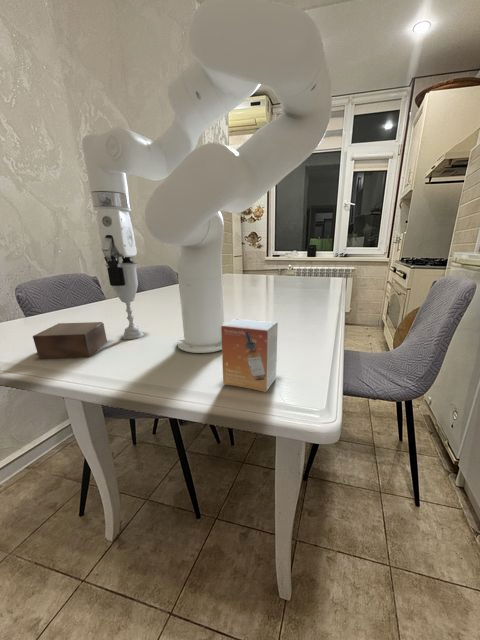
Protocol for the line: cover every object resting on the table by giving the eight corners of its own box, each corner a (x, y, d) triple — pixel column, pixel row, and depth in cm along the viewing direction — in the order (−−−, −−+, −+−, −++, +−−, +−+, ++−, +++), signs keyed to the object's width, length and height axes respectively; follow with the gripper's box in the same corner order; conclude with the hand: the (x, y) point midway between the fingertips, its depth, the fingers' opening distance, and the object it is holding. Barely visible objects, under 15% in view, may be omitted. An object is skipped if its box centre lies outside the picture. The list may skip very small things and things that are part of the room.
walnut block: (107, 341, 71) (103, 321, 69) (89, 356, 62) (84, 334, 60) (63, 343, 70) (58, 323, 68) (38, 358, 60) (32, 336, 59)
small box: (222, 385, 49) (219, 325, 46) (235, 372, 54) (234, 317, 51) (267, 392, 47) (267, 330, 43) (277, 378, 52) (278, 321, 48)
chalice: (136, 341, 71) (124, 265, 65) (112, 339, 73) (98, 264, 66) (153, 332, 78) (143, 263, 72) (130, 331, 79) (118, 262, 73)
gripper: (115, 198, 57) (129, 288, 63) (139, 208, 73) (149, 278, 79) (75, 197, 56) (93, 288, 62) (108, 207, 72) (120, 279, 78)
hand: (124, 282), depth 71 cm, fingers open, 8 cm apart
